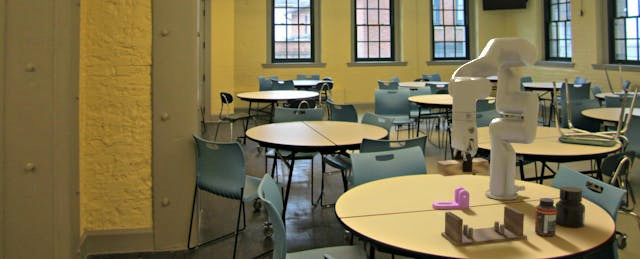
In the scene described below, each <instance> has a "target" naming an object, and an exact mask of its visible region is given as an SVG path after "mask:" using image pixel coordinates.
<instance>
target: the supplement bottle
mask: <svg viewBox="0 0 640 259" xmlns="http://www.w3.org/2000/svg"><path fill="white" fill-rule="evenodd" d="M555 206H556V205H555V200H554V199H553V198H549V197H541V198H540V199H539V203H538V204H537V205H536V208H535V221H534V222H535V226H534V232H535V233H536V234H537V235H539V236H541V235H542V237H553V236H555V234H556V228H557V227H556V225H557V223H556V212H557V209H556V207H555Z"/></svg>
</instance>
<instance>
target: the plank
mask: <svg viewBox="0 0 640 259" xmlns="http://www.w3.org/2000/svg"><path fill="white" fill-rule="evenodd" d="M463 160H464V158H463V159H460V160H454V159H452V160H451V159H450V160H440V161H439V160H438V161H437V174H438V175H441V176H442V177H454V176H463V175H473V174H484V173H489V160H487V159H486V158H485V159H484V158H482V157H473V160H472V172H465V173H464V172H463Z"/></svg>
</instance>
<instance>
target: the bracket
mask: <svg viewBox="0 0 640 259" xmlns="http://www.w3.org/2000/svg"><path fill="white" fill-rule="evenodd" d="M431 206H432V208H433V209H435V210H455V209H456V210H459V209H463V210H464V209H470V193H469V191H467V190H466V189H465V188H464V187H462V186H457V187H456V188H455V190H454V200H452V201H451V200H450V201H449V200H448V201H447V200H446V201H443V200H442V201H433V202H432V205H431Z"/></svg>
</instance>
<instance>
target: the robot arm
mask: <svg viewBox="0 0 640 259" xmlns="http://www.w3.org/2000/svg"><path fill="white" fill-rule="evenodd" d="M536 48H537V47H535V45H534V44H533V43H531V42H530V41H529V40H527V39H525V38H524V37H518V36H514V37H512V36H511V37H496V38H492V39H491V40H489V41H488V42H487V43H486V45H485V47H484V48H483V50H482V52H481V53H480V54H479V56H478V57H477V58H475V59H473V60H470V61H469V62H467V63H465V64H463V65H461V66H460V67H458V68H457V70H455V72H454V73H453V74H452V76H451V78H450V80H449V82H448V85H447V91H448V94H449V96H450V97H451V98H452V116H451V117H452V118H451V120H452V124H451V134H450V136H451V138H450V140H451V141H450V142H451V144H450V147H451V148H452V151H453V157H454V158H453V160H460V159H464V160H463V172H464V173H465V172H472V160H473V158H475V155H476V154H477V151H478V149H479V139H478V138H479V137H478V136H479V134H478V133H479V132H478V126H477V122H476V121H477V100H485V99H487V98H488V97H489V96H490V95H491V94H492V90H493V86H492V85H493V84H492V82H491V81H490V79H488V78H491V77H493V76H495V75H497V76H496V77H497V84H496V85H497V86H496V96H495V97H496V98H495V111H496V112H497V113H498V114H502V115H506V116H507V115H508V116H521V117H523V119H522V118H514V117H513V118H511V117H510V118H509V117H498V118H497V117H496V118H494V119H492V120H491V121H490V123H489V126H488V135H489V141H490V161H489V164H490V165H489V189H488V190H485V191H484V192H485V193H484V195H485V196H486V197H488V198H490V199H494V200H499V201H500V200H501V201H502V200H503V201H510V200H511V201H513V200H516V199H518V198H519V194H518V192H519V191H520V192H522V191H523V192H524V191H525V190H526V186H525V185H517V184H516V162H517V161H516V159H517V155H516V151H515V149H514V146H513V145H512V144H520V145H530V144H533V143H534V141H535V140H536V138H537V131H538V121H539V120H538V119H539V111H540V110H539V109H540V100H539V96H538V94H537V93H535V92H533V91H525V90H524V91H522V90H521V81H522V80H521V77H520V74H519V73H518V71H517V70H516V68H530V67H533V66H534V65H535V64H536V63H537V60H538V52H537V49H536Z"/></svg>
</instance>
